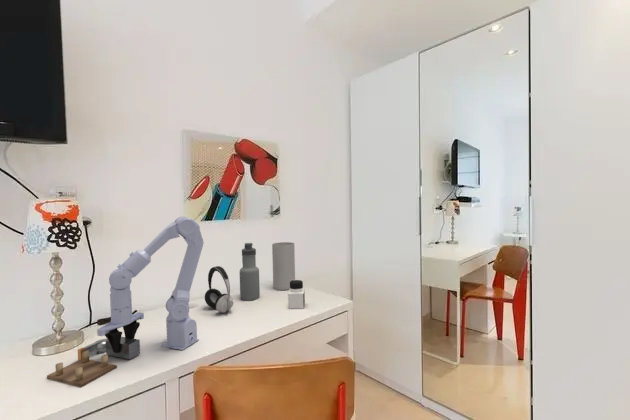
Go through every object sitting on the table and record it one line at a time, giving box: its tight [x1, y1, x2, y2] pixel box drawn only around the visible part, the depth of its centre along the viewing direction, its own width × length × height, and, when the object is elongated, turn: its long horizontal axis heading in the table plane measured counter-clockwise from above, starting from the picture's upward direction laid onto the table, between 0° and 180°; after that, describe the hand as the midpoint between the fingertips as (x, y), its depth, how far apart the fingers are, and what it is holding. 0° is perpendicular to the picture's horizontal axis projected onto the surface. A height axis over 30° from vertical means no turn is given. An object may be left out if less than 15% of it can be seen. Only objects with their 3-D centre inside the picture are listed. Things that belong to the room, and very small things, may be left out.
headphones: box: [204, 265, 234, 313], centre depth 140 cm, size 19×8×20 cm, turn 44°
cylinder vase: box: [271, 241, 296, 291], centre depth 175 cm, size 12×12×25 cm
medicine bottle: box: [287, 279, 306, 310], centre depth 143 cm, size 7×7×12 cm
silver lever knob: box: [77, 338, 108, 361], centre depth 100 cm, size 4×9×4 cm, turn 161°
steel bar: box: [105, 336, 141, 360], centre depth 98 cm, size 10×4×4 cm, turn 71°
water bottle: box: [239, 242, 261, 301], centre depth 157 cm, size 10×10×28 cm
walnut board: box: [46, 351, 118, 388], centre depth 89 cm, size 14×10×4 cm
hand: (123, 348), depth 98 cm, fingers closed on steel bar, 4 cm apart
